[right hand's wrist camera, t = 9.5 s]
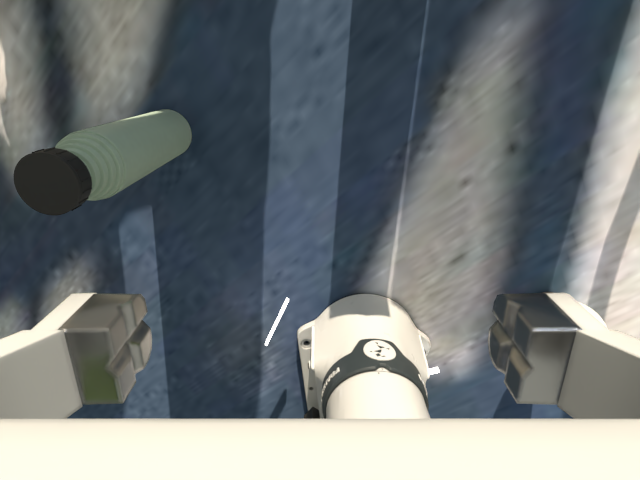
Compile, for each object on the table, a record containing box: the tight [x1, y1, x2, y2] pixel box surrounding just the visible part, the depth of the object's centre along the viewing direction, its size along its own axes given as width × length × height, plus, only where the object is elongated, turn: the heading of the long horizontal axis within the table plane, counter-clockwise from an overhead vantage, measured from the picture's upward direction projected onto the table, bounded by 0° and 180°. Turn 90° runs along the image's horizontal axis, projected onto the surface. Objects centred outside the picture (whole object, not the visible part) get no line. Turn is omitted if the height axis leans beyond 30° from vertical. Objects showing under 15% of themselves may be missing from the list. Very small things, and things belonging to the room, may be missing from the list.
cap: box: [14, 147, 92, 215], centre depth 29 cm, size 4×4×2 cm
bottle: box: [55, 109, 192, 201], centre depth 40 cm, size 5×5×24 cm
